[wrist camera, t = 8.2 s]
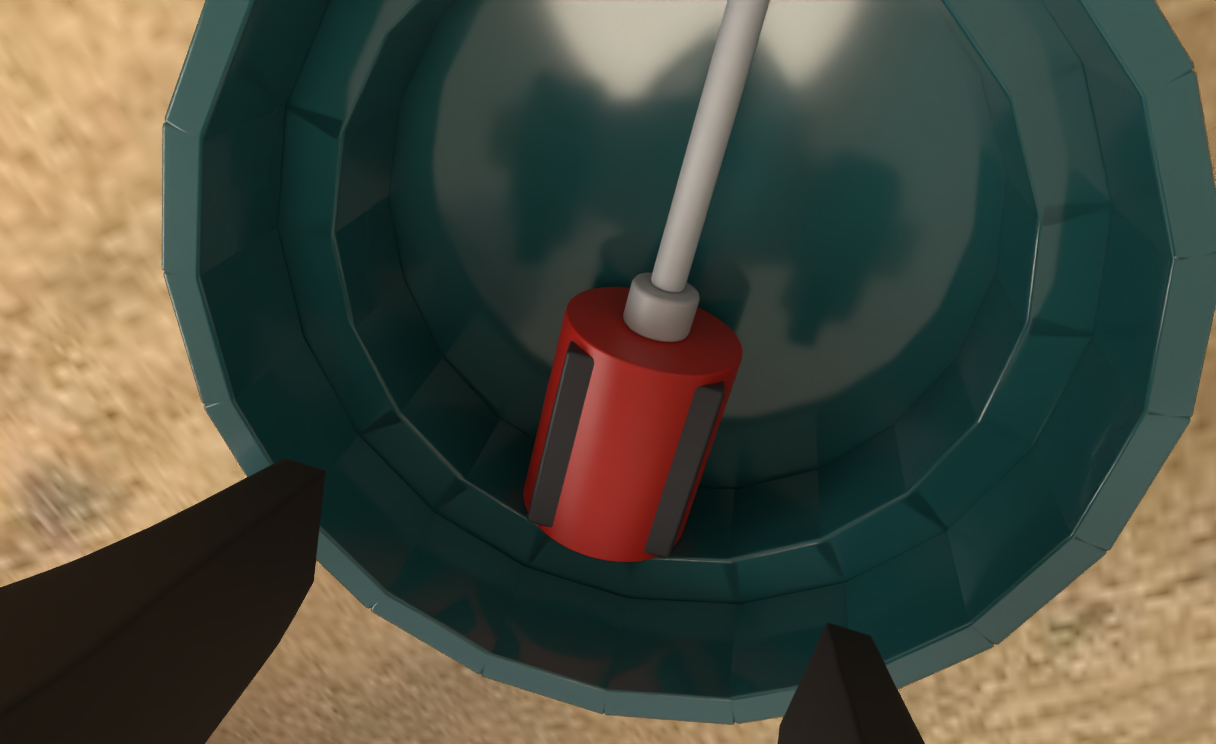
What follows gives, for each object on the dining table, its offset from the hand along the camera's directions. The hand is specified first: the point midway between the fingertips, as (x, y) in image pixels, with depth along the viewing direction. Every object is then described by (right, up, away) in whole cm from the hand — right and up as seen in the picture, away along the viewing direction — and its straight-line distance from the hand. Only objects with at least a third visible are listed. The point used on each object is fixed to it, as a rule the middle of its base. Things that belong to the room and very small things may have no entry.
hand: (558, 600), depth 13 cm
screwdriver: (+2, +6, +4) cm, 7 cm away
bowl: (+2, +6, +5) cm, 8 cm away
